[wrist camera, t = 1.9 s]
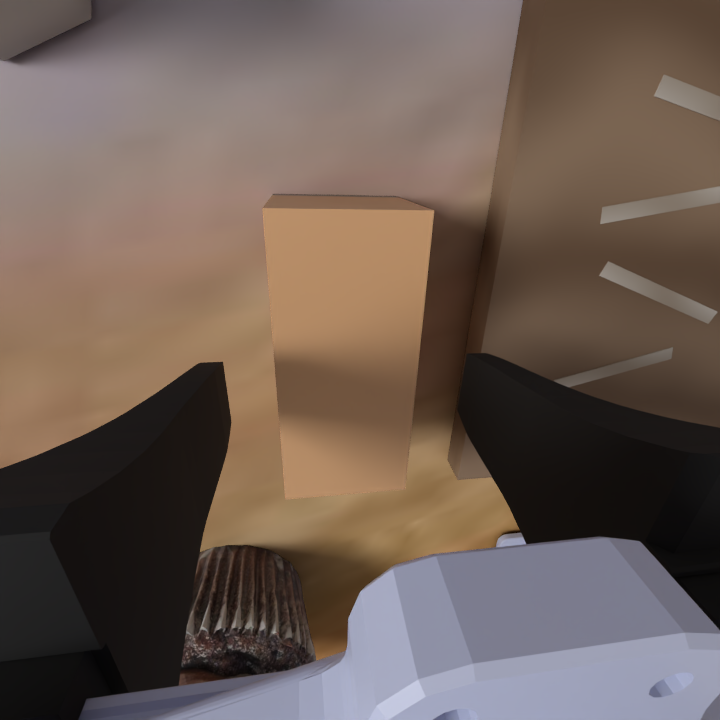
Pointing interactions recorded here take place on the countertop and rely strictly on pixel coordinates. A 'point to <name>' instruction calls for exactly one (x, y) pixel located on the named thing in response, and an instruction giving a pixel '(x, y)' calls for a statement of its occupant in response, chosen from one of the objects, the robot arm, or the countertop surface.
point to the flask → (37, 22)
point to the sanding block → (346, 336)
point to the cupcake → (244, 617)
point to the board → (607, 210)
